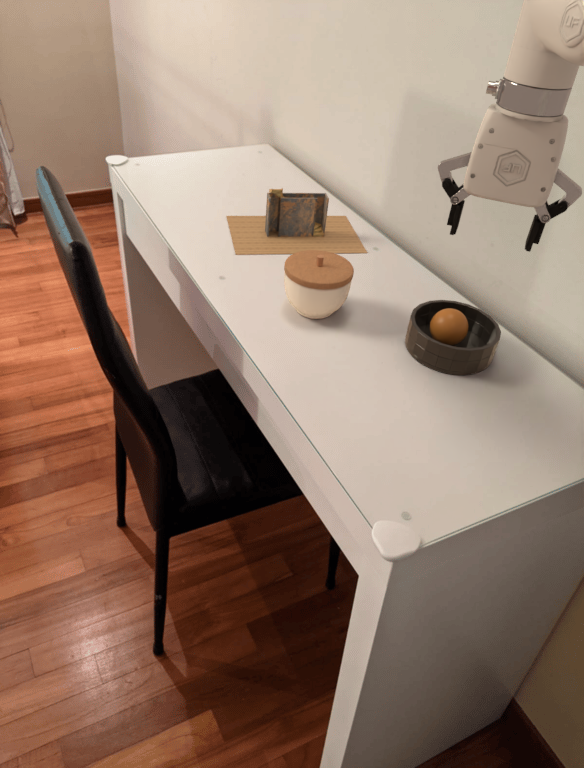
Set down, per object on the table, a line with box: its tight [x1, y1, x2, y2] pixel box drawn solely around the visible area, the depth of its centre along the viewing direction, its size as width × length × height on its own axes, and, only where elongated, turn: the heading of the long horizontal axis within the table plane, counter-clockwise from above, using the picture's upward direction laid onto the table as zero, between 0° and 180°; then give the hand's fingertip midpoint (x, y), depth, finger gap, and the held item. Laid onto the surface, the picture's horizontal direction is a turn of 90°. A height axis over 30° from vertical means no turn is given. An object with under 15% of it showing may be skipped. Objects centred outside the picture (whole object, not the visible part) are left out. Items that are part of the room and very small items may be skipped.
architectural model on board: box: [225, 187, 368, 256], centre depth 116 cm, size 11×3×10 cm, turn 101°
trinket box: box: [283, 250, 355, 320], centre depth 96 cm, size 11×11×9 cm
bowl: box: [404, 299, 502, 376], centre depth 92 cm, size 13×13×4 cm
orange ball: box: [430, 308, 468, 346], centre depth 91 cm, size 6×6×6 cm
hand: (490, 239), depth 80 cm, fingers open, 9 cm apart
